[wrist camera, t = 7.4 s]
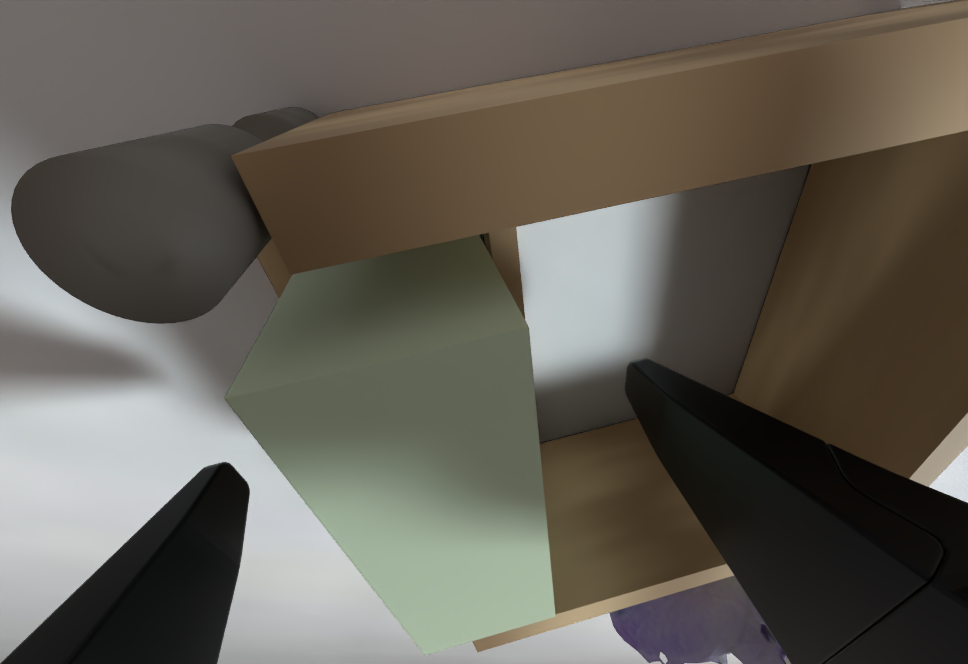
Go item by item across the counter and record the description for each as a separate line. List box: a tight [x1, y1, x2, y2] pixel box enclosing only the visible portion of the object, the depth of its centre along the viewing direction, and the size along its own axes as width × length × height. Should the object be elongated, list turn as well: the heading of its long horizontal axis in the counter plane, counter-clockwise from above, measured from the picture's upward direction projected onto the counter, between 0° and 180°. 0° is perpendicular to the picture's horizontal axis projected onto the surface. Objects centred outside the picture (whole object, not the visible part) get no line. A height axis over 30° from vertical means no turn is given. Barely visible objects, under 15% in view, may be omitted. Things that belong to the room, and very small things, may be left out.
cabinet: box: [11, 0, 968, 652], centre depth 8 cm, size 14×12×6 cm
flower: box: [610, 576, 791, 664], centre depth 14 cm, size 9×9×10 cm
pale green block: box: [224, 235, 556, 655], centre depth 8 cm, size 4×8×6 cm, turn 8°
